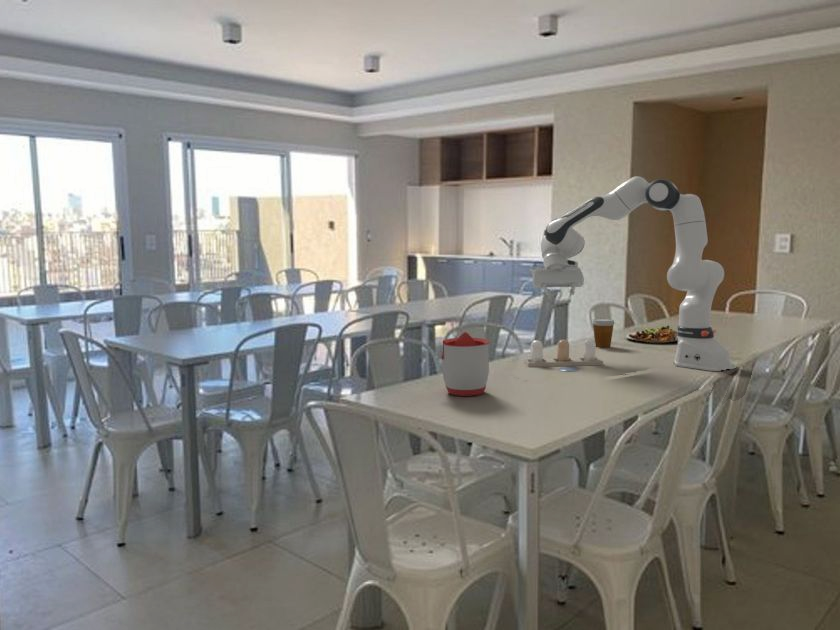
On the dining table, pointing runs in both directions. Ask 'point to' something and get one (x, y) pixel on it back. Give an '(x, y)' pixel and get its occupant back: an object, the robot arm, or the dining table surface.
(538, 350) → the white egg
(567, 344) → the beige rounded cylinder
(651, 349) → the dining table surface
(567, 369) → the saucer
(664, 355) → the dining table surface
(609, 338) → the disposable coffee cup
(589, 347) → the white rounded cylinder
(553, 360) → the egg tray
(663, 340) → the plate of food
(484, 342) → the citrus juicer
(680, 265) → the robot arm
